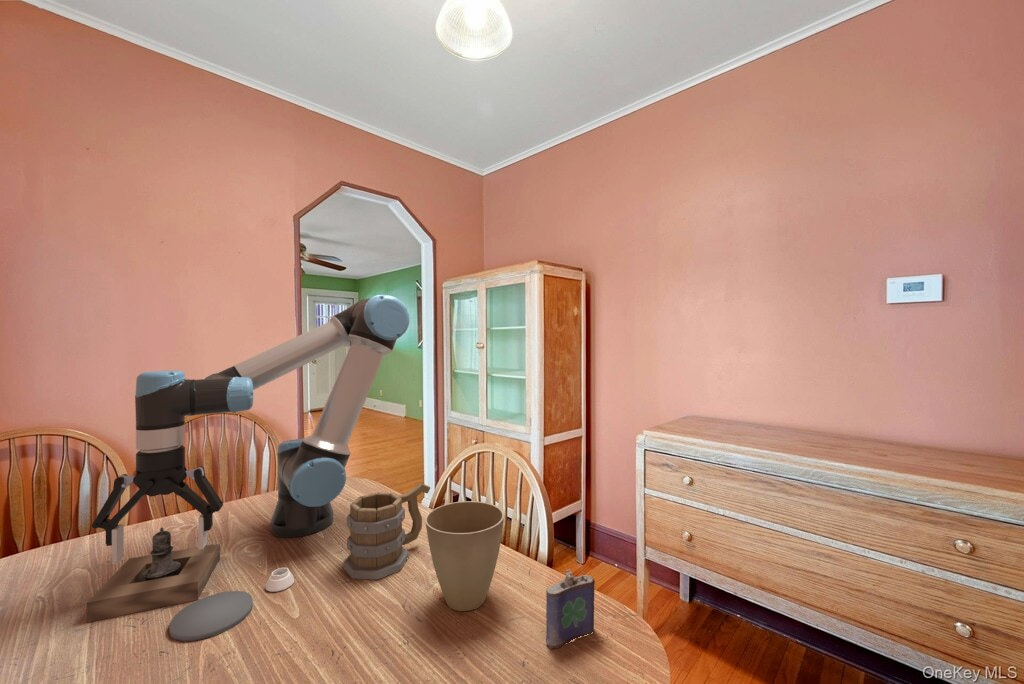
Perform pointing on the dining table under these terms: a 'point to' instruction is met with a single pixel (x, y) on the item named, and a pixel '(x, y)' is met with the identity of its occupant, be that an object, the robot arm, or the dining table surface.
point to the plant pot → (465, 550)
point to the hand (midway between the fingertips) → (161, 553)
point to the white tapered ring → (279, 580)
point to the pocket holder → (154, 584)
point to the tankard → (381, 533)
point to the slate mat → (210, 616)
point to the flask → (569, 609)
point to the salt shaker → (161, 558)
